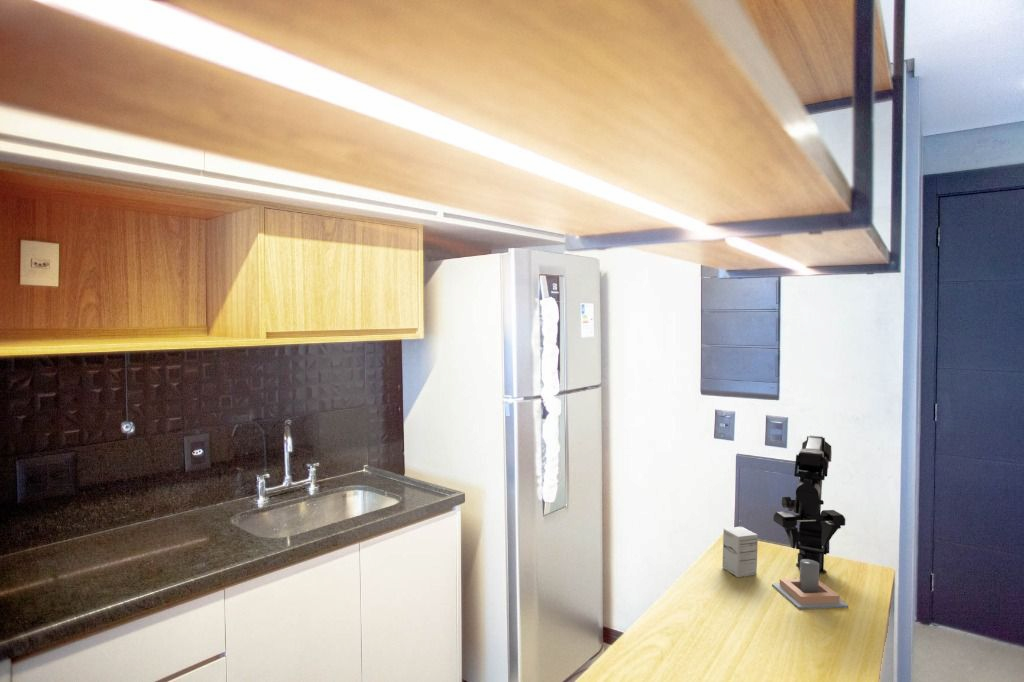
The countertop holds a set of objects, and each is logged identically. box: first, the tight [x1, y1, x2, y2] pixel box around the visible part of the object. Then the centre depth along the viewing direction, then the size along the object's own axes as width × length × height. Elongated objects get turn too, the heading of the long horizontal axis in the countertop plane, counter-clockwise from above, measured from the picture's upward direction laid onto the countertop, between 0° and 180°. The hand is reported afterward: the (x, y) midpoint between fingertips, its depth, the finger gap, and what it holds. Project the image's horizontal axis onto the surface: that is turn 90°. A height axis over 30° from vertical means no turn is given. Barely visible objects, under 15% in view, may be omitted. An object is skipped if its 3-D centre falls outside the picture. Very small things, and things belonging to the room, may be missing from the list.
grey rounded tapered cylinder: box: [799, 559, 820, 593], centre depth 168 cm, size 5×5×9 cm
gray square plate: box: [771, 577, 849, 610], centre depth 168 cm, size 14×14×3 cm
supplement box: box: [722, 526, 759, 578], centre depth 184 cm, size 7×7×13 cm
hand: (808, 547), depth 173 cm, fingers open, 9 cm apart
